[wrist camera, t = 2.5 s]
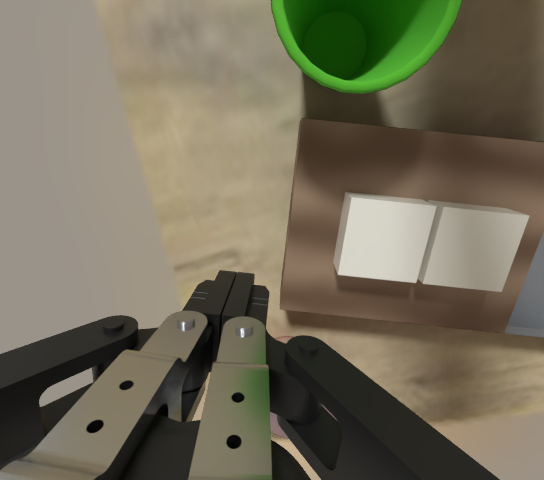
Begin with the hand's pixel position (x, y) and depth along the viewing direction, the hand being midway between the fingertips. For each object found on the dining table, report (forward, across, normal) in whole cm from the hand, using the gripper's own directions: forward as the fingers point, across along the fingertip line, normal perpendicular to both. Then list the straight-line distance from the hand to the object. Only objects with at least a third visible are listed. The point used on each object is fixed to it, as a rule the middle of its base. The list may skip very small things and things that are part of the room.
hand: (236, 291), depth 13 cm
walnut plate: (+16, -12, 0) cm, 21 cm away
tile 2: (+12, -16, 0) cm, 20 cm away
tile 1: (+12, -10, 0) cm, 16 cm away
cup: (+16, -4, -14) cm, 22 cm away
